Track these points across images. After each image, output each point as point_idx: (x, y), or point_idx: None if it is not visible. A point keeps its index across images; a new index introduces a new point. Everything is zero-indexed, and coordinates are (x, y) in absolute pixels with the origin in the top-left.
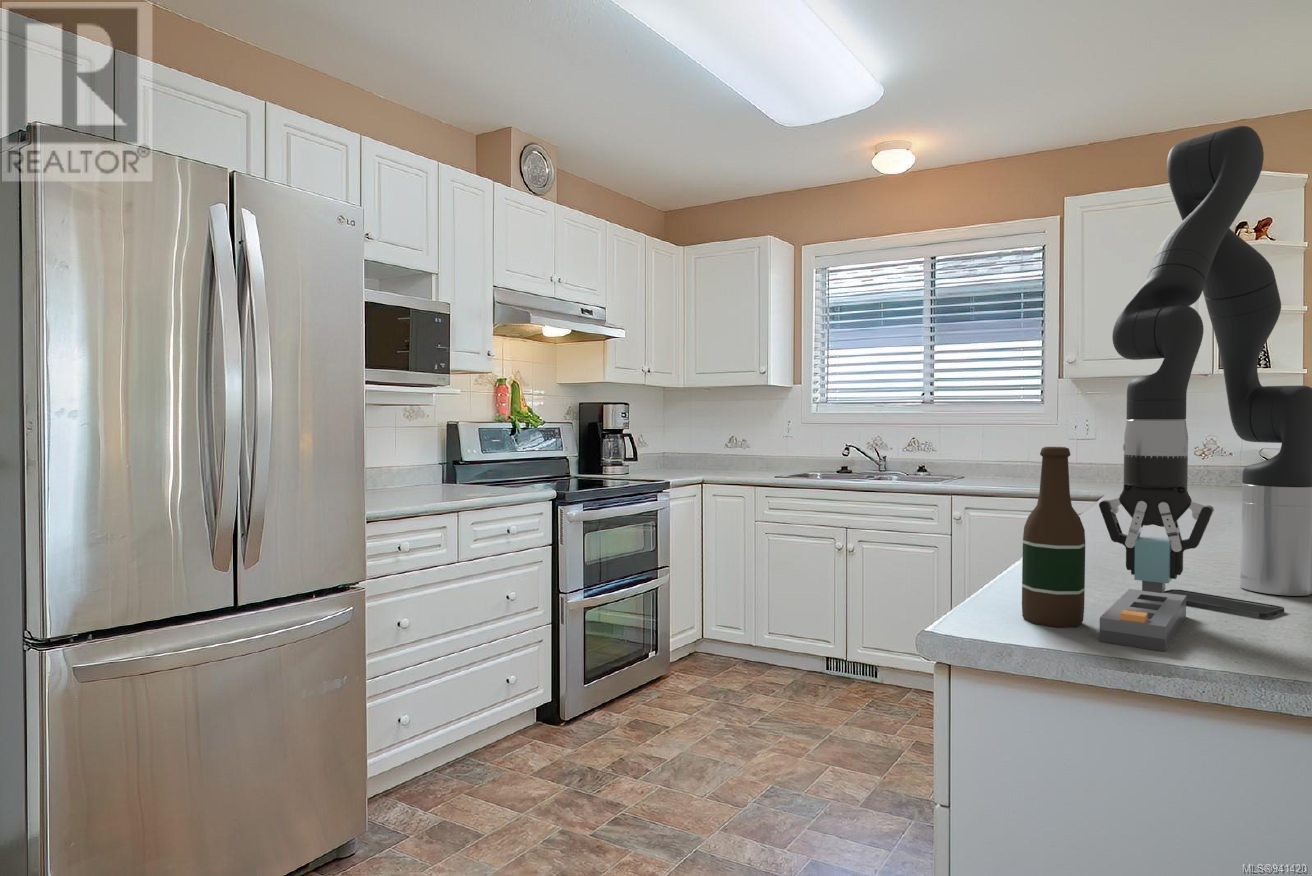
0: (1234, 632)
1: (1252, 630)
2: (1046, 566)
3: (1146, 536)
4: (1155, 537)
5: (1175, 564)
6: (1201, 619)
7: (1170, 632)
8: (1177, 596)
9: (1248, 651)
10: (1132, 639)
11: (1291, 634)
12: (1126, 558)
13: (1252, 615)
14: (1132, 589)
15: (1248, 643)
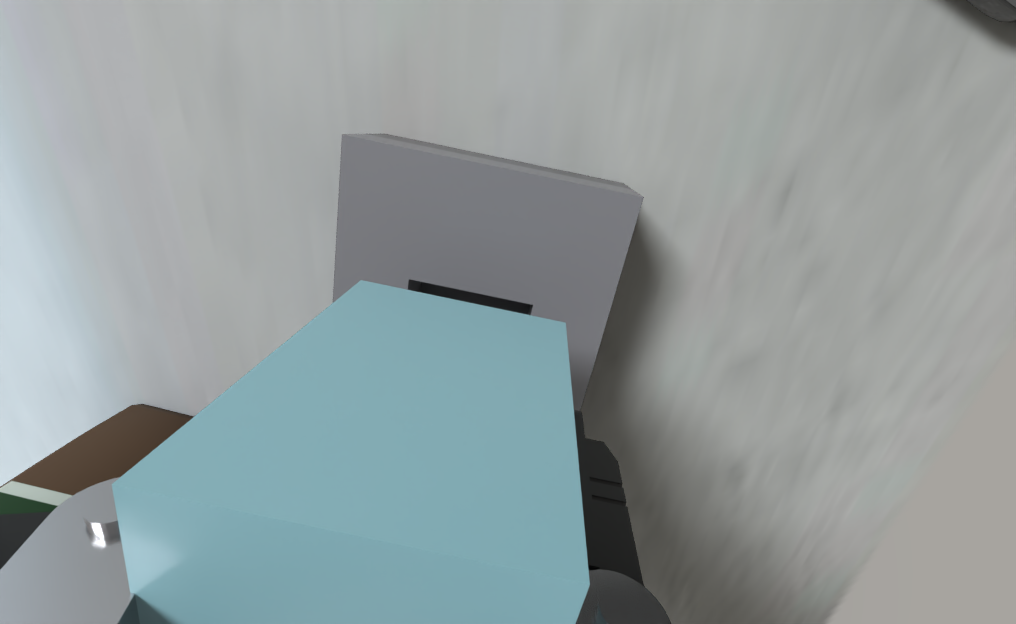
0: (747, 393)
1: (836, 329)
2: None
3: (204, 531)
4: (334, 589)
5: None
6: (682, 204)
7: None
8: (588, 251)
9: (704, 599)
10: None
11: (977, 333)
12: None
13: (993, 5)
14: (359, 150)
15: (738, 520)
